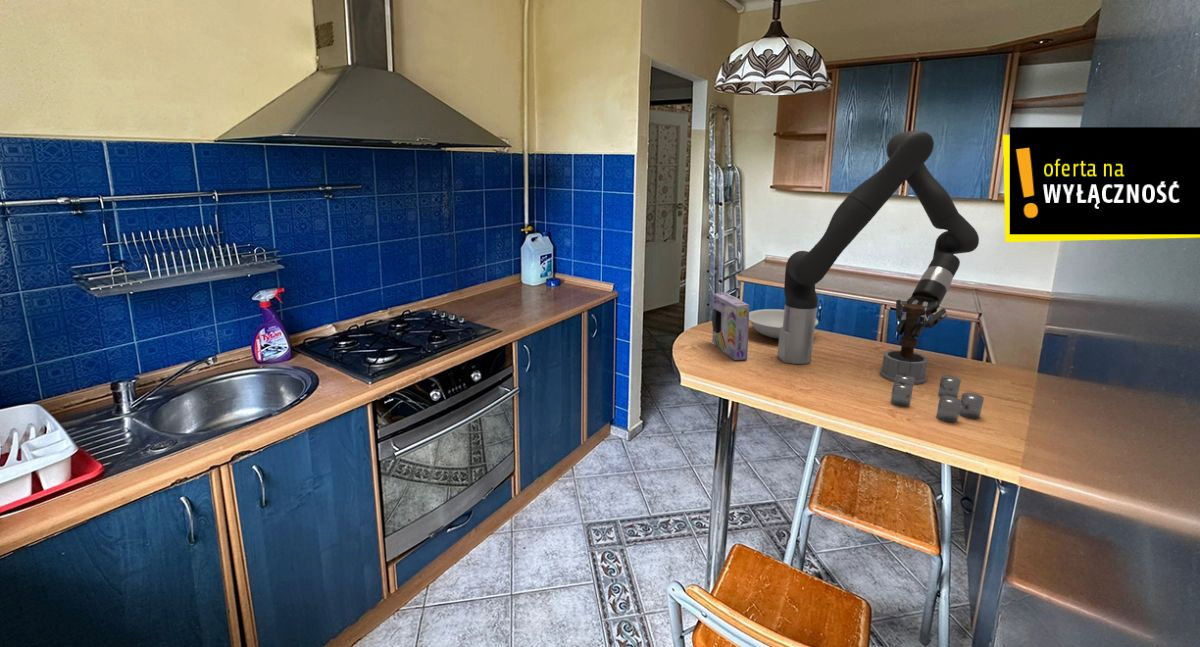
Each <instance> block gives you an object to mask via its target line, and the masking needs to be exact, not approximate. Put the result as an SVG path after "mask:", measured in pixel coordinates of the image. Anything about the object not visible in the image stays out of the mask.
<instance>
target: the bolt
mask: <svg viewBox="0 0 1200 647" xmlns="http://www.w3.org/2000/svg"><path fill="white" fill-rule="evenodd" d="M924 311H925V307H924V306H922V305H917V304H905V305H904V306H903V312H904V313H905V312H906V320H905V326H904V332H903V334H902V336H901V337H900V338H899V341H898V345H900V346H901V347H900V348H901V349H900V350H901V352H900V355H901V356H902V357H903V358H909V359H910V358H912V356H913V352H914V351H915V350H914V349H915V348H916V347H917V346H918V344H919V343H918V342H919V339H917V338H916V339H915V338H913V337H912V332H913V330H914V329H915V327H916V325H917V324H919V320H920V314H923V313H924Z"/></svg>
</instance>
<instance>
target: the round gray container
mask: <svg viewBox="0 0 1200 647" xmlns="http://www.w3.org/2000/svg"><path fill="white" fill-rule="evenodd" d="M900 352H901V349H890V350H886V351H884V352H883V357H882V358H883V359H882V364H881V367H880V368H879V372H878V373H879V374H878V375H879V376H880V377H882V378H883V379H886V380H888V381H890V380H891V381H892V382H893V383H895V377H896V374H899V373H903V374H909V375H912V376H914V378H915V379H914V385H921V384H925V383H926V382H927V378H928V376H927V367H928V364H929V358H928V357H927V356H925V355H923V354H920V353H917V352H914V351H913V356H912V358H910V359H909V358H903V357H902V356H901V355H900Z"/></svg>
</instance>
